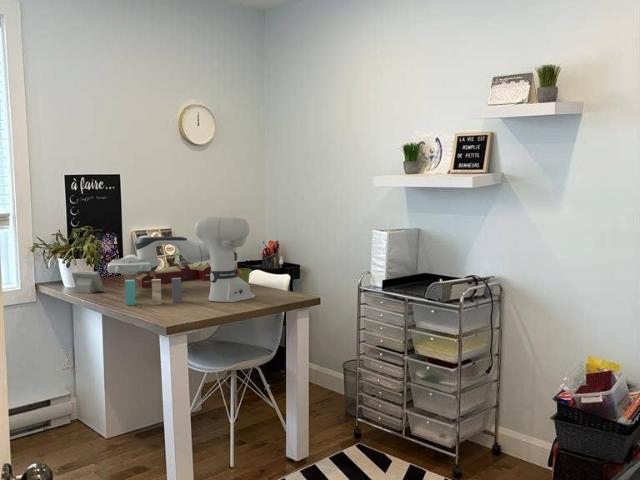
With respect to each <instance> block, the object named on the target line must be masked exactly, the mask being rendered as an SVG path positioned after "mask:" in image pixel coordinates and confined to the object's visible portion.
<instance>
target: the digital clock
mask: <svg viewBox="0 0 640 480" xmlns="http://www.w3.org/2000/svg"><path fill="white" fill-rule="evenodd" d="M71 276H72V279H73V281H74V287H75V293H77V292H78V293H79V294H93V292H94V293H97V292H104V290H105V289H104V285H103V281H102V278H101V275H100V273H99V271H90V270H89V271H87V270H86V271H85V270H72V271H71ZM78 293H77V294H78Z"/></svg>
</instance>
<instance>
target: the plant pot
mask: <svg viewBox="0 0 640 480" xmlns="http://www.w3.org/2000/svg"><path fill="white" fill-rule="evenodd" d="M235 269H236V270H241V271H242V272H241V274H238V277H239V278H241V279H242V280H243V281H245V282H246V283H248V284H249V280H250V274H251V272H252V269H251V268H244V267H243V268H235Z"/></svg>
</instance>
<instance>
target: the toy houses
mask: <svg viewBox="0 0 640 480" xmlns="http://www.w3.org/2000/svg"><path fill="white" fill-rule="evenodd" d="M210 270H211V264H210V263H209V262H199V263H194V264H193V267H192V264H190V266H188V265H186V266H184V265H183V264H182V263H181V262H180V263H176V262H175V263H174V264H173V265H172V266H170V267H169V266H164V267H157V268H156V269H155V270H154V271H152V272H150V276H149V275H147V274H144V273H143V274H141V275H140V276H138V277H135V280H136V279H137V287H138V286H139V288H141V287H142V288H141V289H144V288H145V287H146V288H152V279H161V285H162V284H170V283H171V284H172V278H181V282H183V281H184V282H185V281H186V280H189V281H193V280H194V281H196V280H199V281H203V282H207V281H211V280H210ZM146 288H145V289H146Z"/></svg>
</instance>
